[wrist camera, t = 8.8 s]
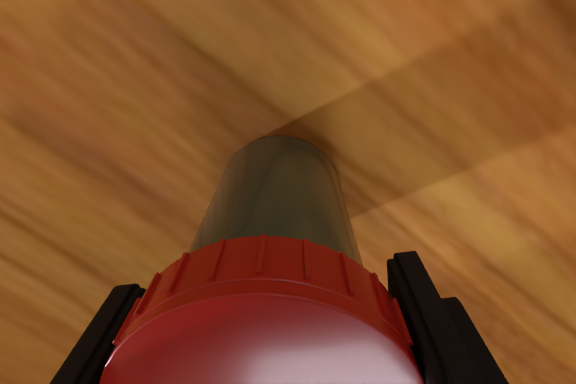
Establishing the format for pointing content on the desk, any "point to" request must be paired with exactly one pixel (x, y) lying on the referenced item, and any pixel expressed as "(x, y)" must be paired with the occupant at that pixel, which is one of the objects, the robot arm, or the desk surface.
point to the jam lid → (264, 320)
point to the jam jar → (279, 197)
